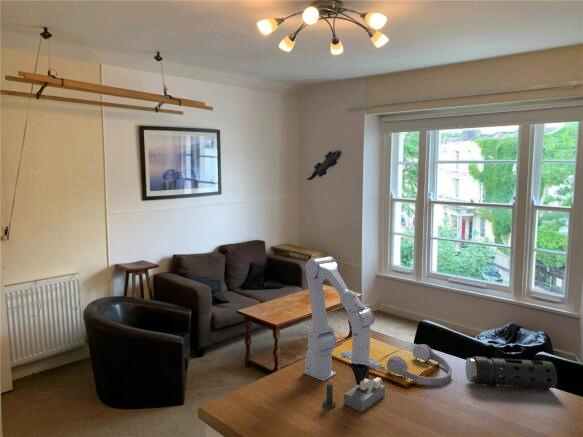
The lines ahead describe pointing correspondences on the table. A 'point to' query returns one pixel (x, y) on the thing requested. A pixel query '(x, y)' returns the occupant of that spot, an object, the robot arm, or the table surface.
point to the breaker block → (365, 395)
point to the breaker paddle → (364, 384)
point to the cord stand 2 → (367, 375)
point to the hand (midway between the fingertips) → (359, 383)
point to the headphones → (424, 353)
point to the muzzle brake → (511, 372)
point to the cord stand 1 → (329, 397)
